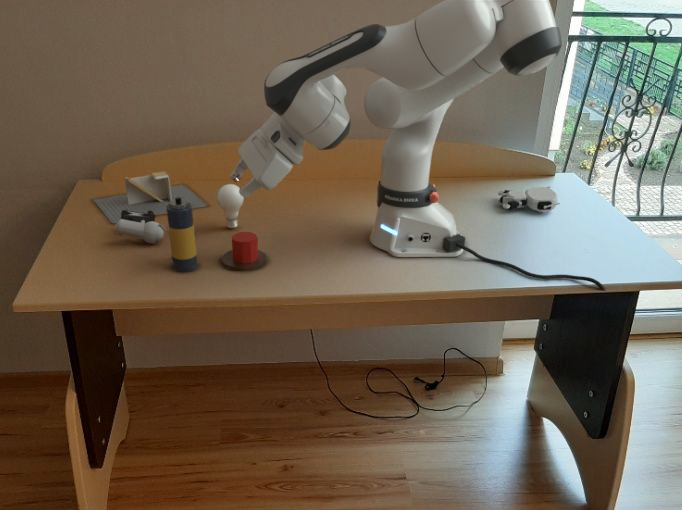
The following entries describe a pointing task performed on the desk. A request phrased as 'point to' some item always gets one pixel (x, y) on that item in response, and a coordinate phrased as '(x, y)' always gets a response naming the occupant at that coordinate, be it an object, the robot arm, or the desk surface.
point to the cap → (245, 247)
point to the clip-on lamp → (140, 226)
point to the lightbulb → (230, 203)
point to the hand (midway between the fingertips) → (237, 187)
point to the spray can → (182, 235)
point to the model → (146, 196)
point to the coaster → (233, 265)
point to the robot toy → (530, 199)
